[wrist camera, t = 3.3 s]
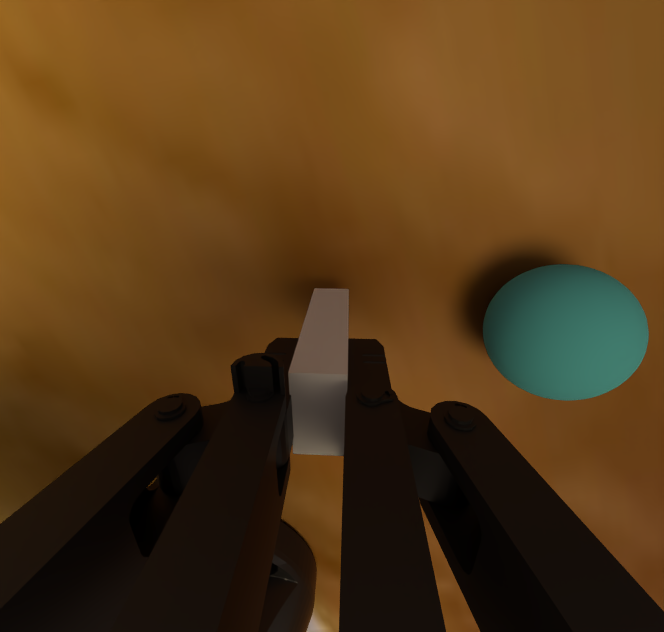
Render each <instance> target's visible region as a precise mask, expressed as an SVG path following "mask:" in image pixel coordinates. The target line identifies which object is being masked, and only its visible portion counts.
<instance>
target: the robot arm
mask: <svg viewBox="0 0 664 632" xmlns="http://www.w3.org/2000/svg"><path fill="white" fill-rule="evenodd" d="M348 318H349V289H324V288H314V291H313V295H312V298H311V301H310V304H309V307H308V311H307V314H306V317H305V320H304V323H303V327H302V330H301V333H300V336H299V338H276V339H275V340H274V341H273V342H271V343H270V344H269V345H268V347H267V349H266V351H265V353H254V354H250V355H246V356H243V357H241V358H239V359H237V360H236V361H235V362H234V363H233V364H232V365H231V373H232V380H233V387H234V395H233V397H232V399H231V400H230V401H227V402H224V403H220V404H214V405H209V406H203V407H201V404H200V401H199V400H198V398H197V397H196V396H194V395H191V394H185V393H178V394H172V395H168V396H165V397H162V398H160V399H157V400H156V401H154V402H153V403H151V404H149V405H148V406H147V407H145V408H144V409H143V410H142V411H140V412H139V413H138V414H137V415H136V416H134V417H133V418H132V419H131V420H129V421H128V422H127V423H126V424H124V425H123V426H122V427H121V428H119V429H118V430H117V431H116V432H114V433H113V434H112V435H111V436H109V437H108V438H107V439H106V440H104V441H103V442H102V443H101V444H99V445H98V446H97V447H96V448H94V449H93V450H92V451H91V452H89V453H88V454H87V455H86V456H84V457H83V458H82V459H81V460H79V461H78V462H77V463H76V464H74V465H73V466H72V467H71V468H69V469H68V470H67V471H66V472H64V473H63V474H62V475H61V476H60V477H58V478H57V479H56V480H55V481H53V482H52V483H51V484H50V485H48V486H47V487H46V488H45V489H43V490H42V491H41V492H40V493H38V494H37V495H36V496H35V497H33V498H32V499H31V500H30V501H28V502H27V503H26V504H25V505H23V506H22V507H21V508H20V509H18V510H17V511H16V512H15V513H13V514H12V515H11V516H10V517H8V518H7V519H6V520H5V521H3V522H2V523H1V524H0V632H306V631H307V628H308V625H309V622H310V619H311V616H312V612H313V607H314V599H315V587H316V575H317V570H316V563H315V560H314V557H313V555H312V553H311V551H310V549H309V547H308V546H307V545H306V543H305V542H304V541H303V540H302V538H301V537H300V536H299V535H298V534H297V533H295V532H294V531H293V530H292V529H291V528H289V527H288V526H287V525H285V524H284V523H282V522H281V521H280V520H281V515H282V510H283V505H284V500H285V495H286V490H287V485H288V480H289V474H290V451H291V447H292V443H293V454H312V455H336V456H344V469H343V506H342V543H341V580H340V617H339V632H446V629H445V624H444V619H443V614H442V609H441V605H440V600H439V595H438V590H437V585H436V580H435V575H434V571H433V566H432V561H431V556H430V551H429V546H428V541H427V536H426V532H425V527H424V522H423V517H422V512H421V507H420V504H421V506H422V508H423V510H424V512H425V514H426V517H427V519H428V521H429V523H430V525H431V527H432V529H433V531H434V534H435V536H436V538H437V540H438V542H439V544H440V546H441V549H442V551H443V553H444V555H445V557H446V559H447V561H448V563H449V566H450V568H451V570H452V572H453V574H454V576H455V578H456V580H457V583H458V585H459V587H460V589H461V591H462V593H463V595H464V597H465V600H466V602H467V604H468V606H469V608H470V610H471V612H472V615H473V617H474V619H475V621H476V623H477V625H478V627H479V629H480V632H664V611H663V610H662V609H661V608H660V607H659V606H658V605H657V604H656V603H655V601H654V600H653V599H652V598H651V597H650V596H649V595H648V594H647V593H646V592H645V590H644V589H643V588H642V587H641V586H640V585H639V584H638V583H637V582H636V581H635V579H634V578H633V577H632V576H631V575H630V574H629V573H628V572H627V571H626V570H625V568H624V567H623V566H622V565H621V564H620V563H619V562H618V561H617V560H616V558H615V557H614V556H613V555H612V554H611V553H610V552H609V551H608V550H607V549H606V547H605V546H604V545H603V544H602V543H601V542H600V541H599V540H598V539H597V538H596V536H595V535H594V534H593V533H592V532H591V531H590V530H589V529H588V528H587V527H586V525H585V524H584V523H583V522H582V521H581V520H580V519H579V518H578V517H577V516H576V514H575V513H574V512H573V511H572V510H571V509H570V508H569V507H568V506H567V505H566V503H565V502H564V501H563V500H562V499H561V498H560V497H559V496H558V495H557V493H556V492H555V491H554V490H553V489H552V488H551V487H550V486H549V485H548V484H547V482H546V481H545V480H544V479H543V478H542V477H541V476H540V475H539V474H538V473H537V471H536V470H535V469H534V468H533V467H532V466H531V465H530V464H529V463H528V462H527V460H526V459H525V458H524V457H523V456H522V455H521V454H520V453H519V452H518V451H517V449H516V448H515V447H514V446H513V445H512V444H511V443H510V442H509V441H508V439H507V438H506V437H505V436H504V435H503V434H502V433H501V432H500V431H499V430H498V428H497V427H496V426H495V425H494V424H493V423H492V422H491V421H490V420H489V419H488V417H487V416H486V415H484V414H483V413H482V412H481V411H480V410H478V409H477V408H475V407H473V406H471V405H469V404H466V403H462V402H457V401H444V402H441V403H437V404H436V405H435V406H434V407H433V408H431V413H430V412H426V411H422V410H418V409H415V408H412V407H409V406H407V405H405V404H403V403H402V402H400V401H399V400H398V397H397V395H396V393H395V392H394V391H393V390H392V389H391V384H390V379H389V373H388V368H387V364H386V358H385V352H384V347H383V346H382V345H381V344H380V343H379V342H378V341H377V340H376V339H348ZM156 477H157V479H156V481H155V482H154V483H153V484H152V485H150V486H149V487H148V488H146V487H147V486H148V485H149V484H150V483H151V482H152V481H153V480H154V479H155V478H156ZM418 497H419V498H418ZM419 500H420V502H419Z"/></svg>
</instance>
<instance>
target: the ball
mask: <svg viewBox="0 0 664 632" xmlns="http://www.w3.org/2000/svg"><path fill="white" fill-rule="evenodd" d="M648 336H649V332H648V325H647V319H646V316H645V313H644V311H643V309H642V307H641V305H640V303H639V301H638V300H637V299H636V298H635V296H634V295H633V294H632V293H631V292H630V290H629V289H628V288H626V287H625V286H624V285H623V284H621V283H620V282H619V281H618V280H616V279H614V278H613V277H611V276H609V275H607V274H605V273H603V272H601V271H598V270H595V269H592V268H589V267H584V266H580V265H568V264H557V265H548V266H542V267H538V268H535V269H532V270H529V271H527V272H524V273H522V274H520V275H518V276H516V277H515V278H513V279H512V280H510V281H509V282H507V283H506V284H505V285H504V286H503V287H502V288H501V289H500V290H499V291H498V292H497V293H496V295H495V296H494V297H493V299H492V300H491V302H490V304H489V306H488V308H487V310H486V314H485V317H484V322H483V339H484V344H485V347H486V350H487V353H488V355H489V357H490V359H491V361H492V362H493V364H494V366H495V367H496V368H497V369H498V371H499V372H500V373H501V374H502V375H503V376H504V377H505V378H506V379H508V380H509V381H510V382H512V383H513V384H514V385H516V386H517V387H519V388H521V389H523V390H525V391H527V392H529V393H531V394H534V395H537V396H541V397H544V398H549V399H555V400H580V399H587V398H592V397H595V396H599V395H601V394H604V393H606V392H608V391H610V390H612V389H614V388H616V387H617V386H619V385H621V384H622V383H623V382H624V381H626V380H627V379H628V378H629V377H630V376H631V375H632V374H633V373H634V372H635V370H636V369H637V368H638V366H639V365H640V363H641V361H642V360H643V358H644V355H645V352H646V349H647V344H648Z"/></svg>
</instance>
